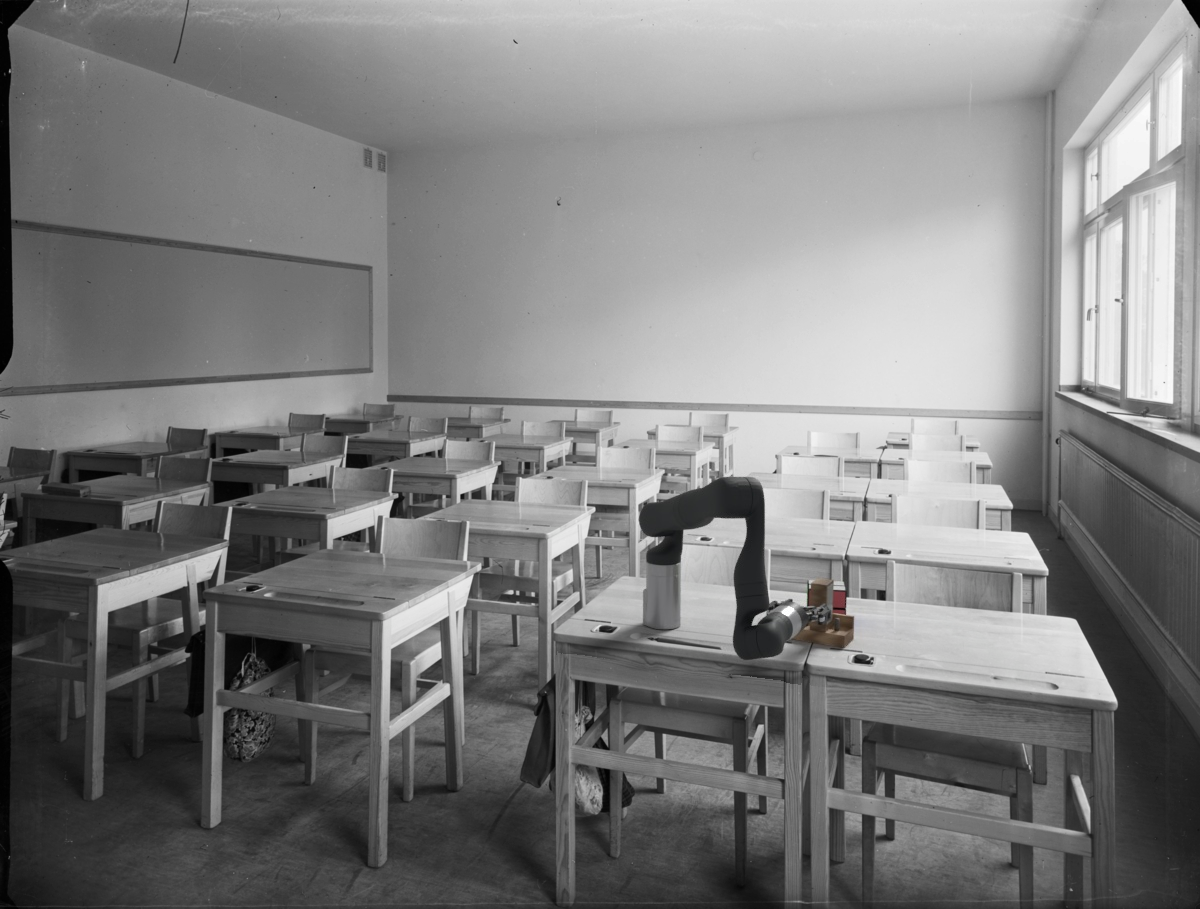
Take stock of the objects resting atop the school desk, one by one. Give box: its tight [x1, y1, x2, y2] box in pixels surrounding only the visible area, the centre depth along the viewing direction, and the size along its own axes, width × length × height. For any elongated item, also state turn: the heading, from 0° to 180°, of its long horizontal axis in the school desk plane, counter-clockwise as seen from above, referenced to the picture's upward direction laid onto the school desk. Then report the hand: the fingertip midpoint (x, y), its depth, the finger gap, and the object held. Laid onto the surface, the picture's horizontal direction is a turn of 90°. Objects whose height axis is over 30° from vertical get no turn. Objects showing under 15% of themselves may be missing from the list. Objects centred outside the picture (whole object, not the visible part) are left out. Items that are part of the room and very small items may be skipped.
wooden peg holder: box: [791, 610, 855, 649], centre depth 233 cm, size 14×8×6 cm, turn 59°
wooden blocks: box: [810, 577, 835, 632], centre depth 232 cm, size 4×6×12 cm
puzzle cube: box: [806, 579, 848, 615], centre depth 248 cm, size 10×10×10 cm
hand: (808, 605), depth 222 cm, fingers open, 8 cm apart
